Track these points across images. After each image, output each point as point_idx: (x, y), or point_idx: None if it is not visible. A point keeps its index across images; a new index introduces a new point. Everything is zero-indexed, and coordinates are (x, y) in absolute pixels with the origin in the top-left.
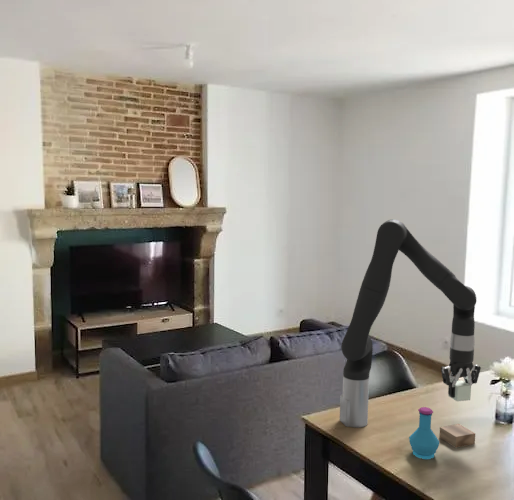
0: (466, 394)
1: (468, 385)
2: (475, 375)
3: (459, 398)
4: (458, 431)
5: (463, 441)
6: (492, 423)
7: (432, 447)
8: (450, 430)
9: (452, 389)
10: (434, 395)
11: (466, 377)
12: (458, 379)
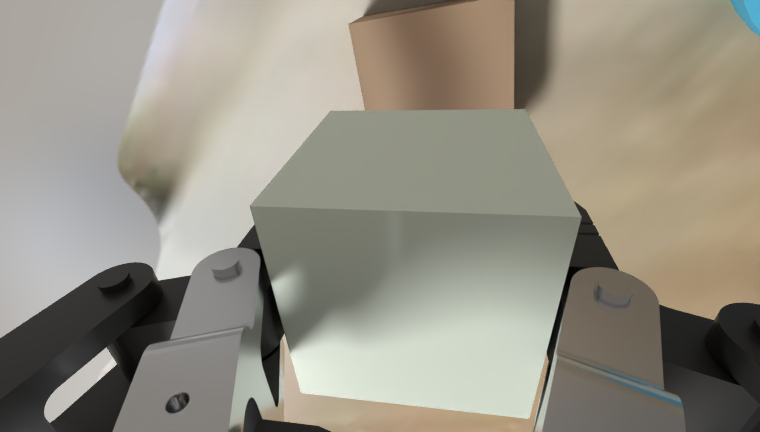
0: (375, 140)
1: (300, 222)
2: (2, 401)
3: (491, 123)
4: (442, 72)
5: (445, 3)
6: (179, 199)
7: None
8: (483, 97)
9: (579, 254)
10: (300, 410)
11: (253, 405)
12: (555, 384)
